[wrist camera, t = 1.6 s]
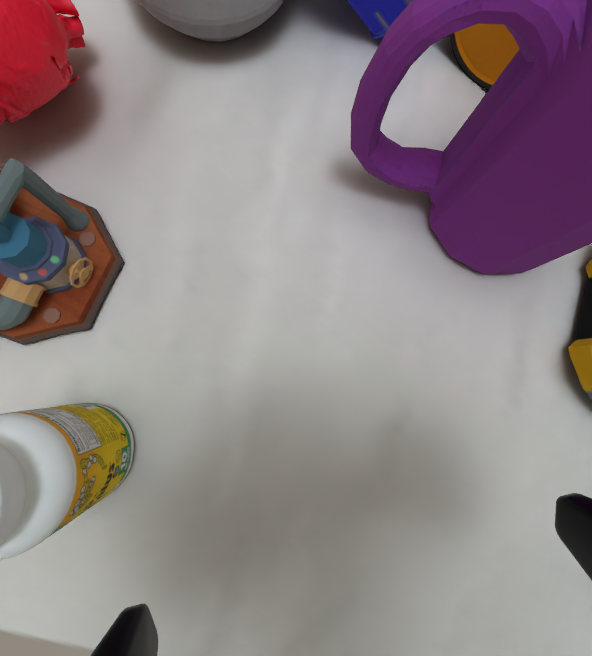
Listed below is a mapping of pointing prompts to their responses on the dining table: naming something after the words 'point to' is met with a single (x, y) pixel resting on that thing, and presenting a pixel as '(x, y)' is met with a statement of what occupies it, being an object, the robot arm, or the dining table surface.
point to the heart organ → (35, 53)
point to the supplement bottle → (57, 468)
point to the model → (49, 259)
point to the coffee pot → (212, 16)
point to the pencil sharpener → (378, 13)
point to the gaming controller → (584, 339)
